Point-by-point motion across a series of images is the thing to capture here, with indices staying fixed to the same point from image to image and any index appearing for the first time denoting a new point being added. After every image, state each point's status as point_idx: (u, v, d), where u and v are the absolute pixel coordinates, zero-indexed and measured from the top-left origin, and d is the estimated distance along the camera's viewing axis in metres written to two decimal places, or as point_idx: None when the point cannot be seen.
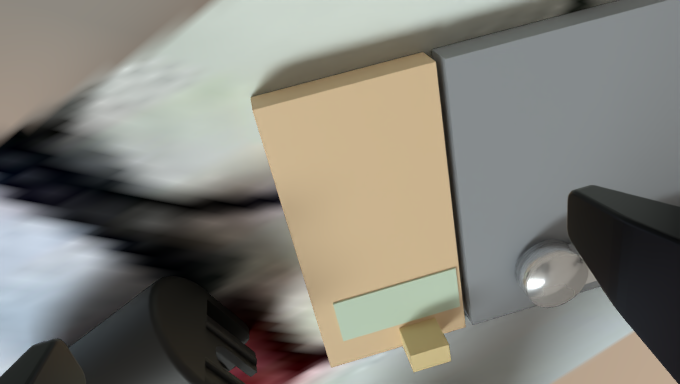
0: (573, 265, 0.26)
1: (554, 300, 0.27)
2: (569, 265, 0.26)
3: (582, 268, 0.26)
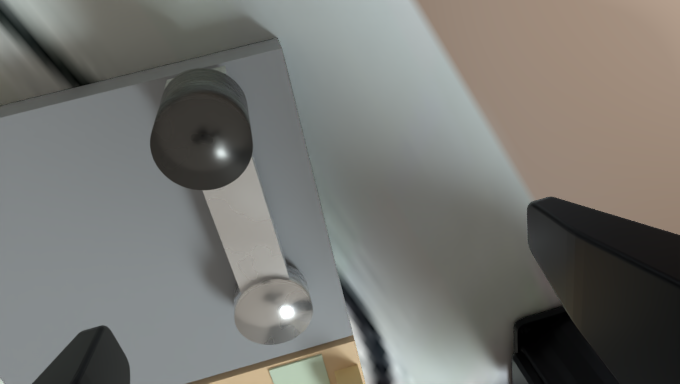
0: (250, 306, 0.21)
1: (303, 311, 0.22)
2: (249, 310, 0.22)
3: (255, 294, 0.21)
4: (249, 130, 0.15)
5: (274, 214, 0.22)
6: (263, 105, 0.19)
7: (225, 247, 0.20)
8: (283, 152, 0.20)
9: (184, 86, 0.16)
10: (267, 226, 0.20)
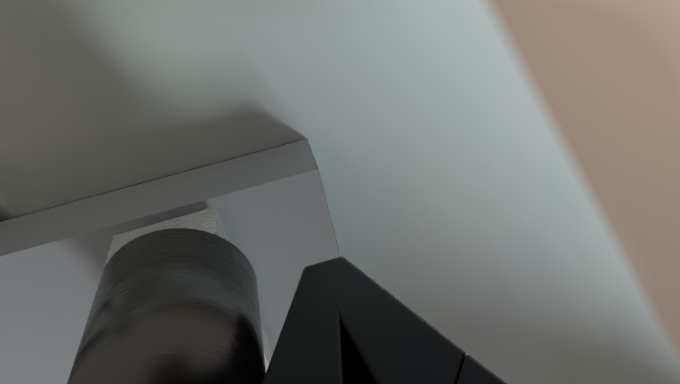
0: None
1: None
2: None
3: None
4: None
5: None
6: (285, 255, 0.12)
7: None
8: None
9: (131, 296, 0.08)
10: None
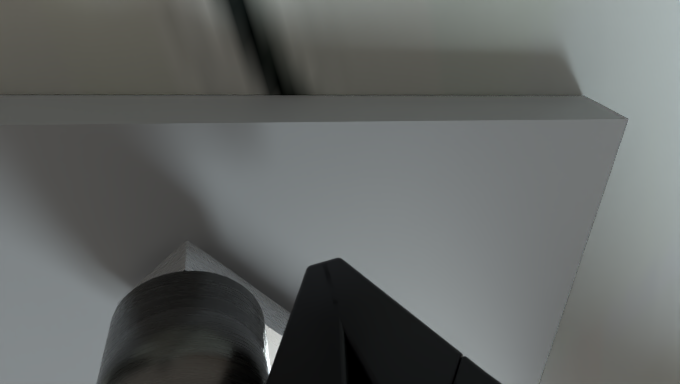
0: None
1: None
2: None
3: None
4: None
5: (489, 348, 0.14)
6: (559, 195, 0.12)
7: None
8: (547, 266, 0.13)
9: (108, 369, 0.08)
10: None
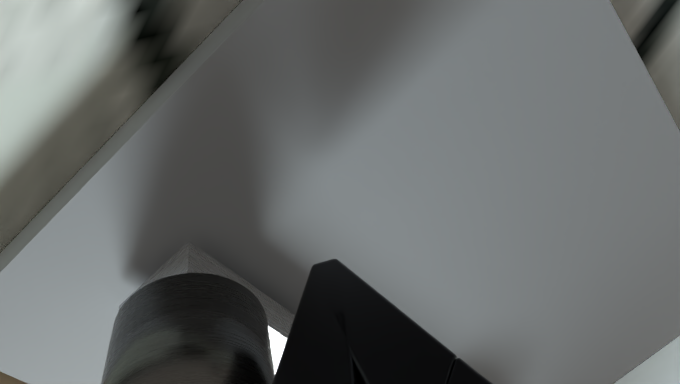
0: None
1: None
2: None
3: None
4: None
5: None
6: None
7: None
8: (634, 346, 0.16)
9: (112, 373, 0.08)
10: None
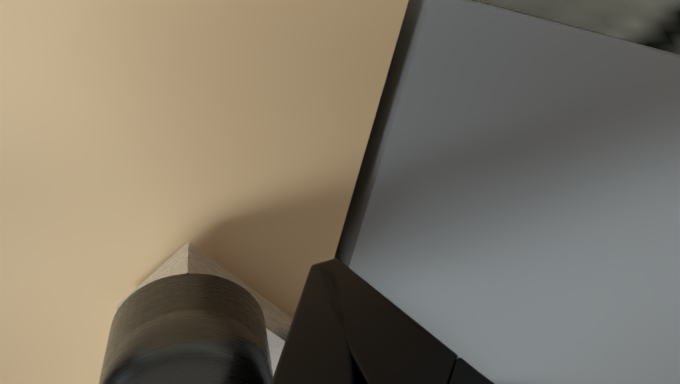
0: None
1: None
2: None
3: None
4: None
5: None
6: None
7: None
8: None
9: (111, 372, 0.08)
10: None
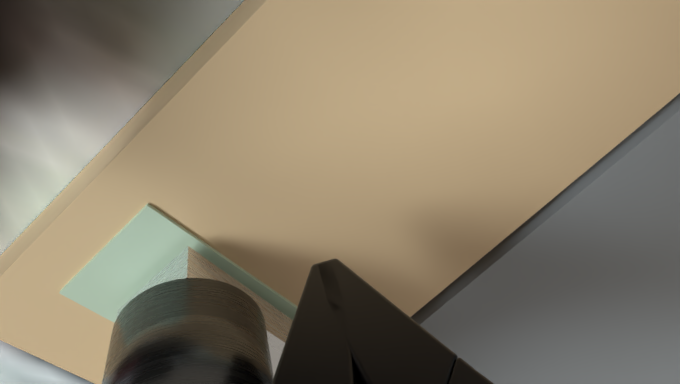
0: None
1: None
2: None
3: None
4: None
5: None
6: None
7: None
8: None
9: (112, 378, 0.08)
10: None
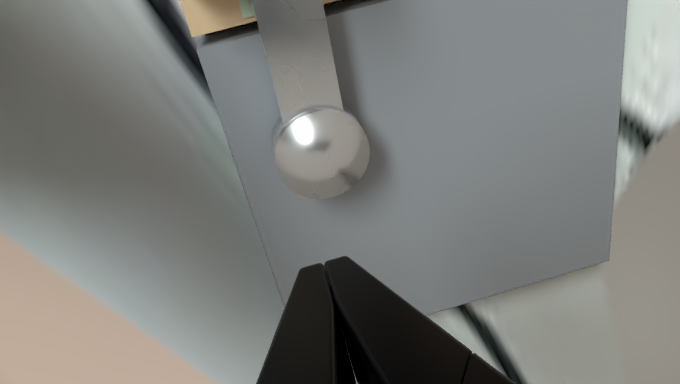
0: (295, 141, 0.17)
1: (358, 154, 0.18)
2: (294, 147, 0.17)
3: (302, 124, 0.17)
4: None
5: (308, 226, 0.21)
6: None
7: (268, 55, 0.16)
8: None
9: None
10: (321, 28, 0.16)
